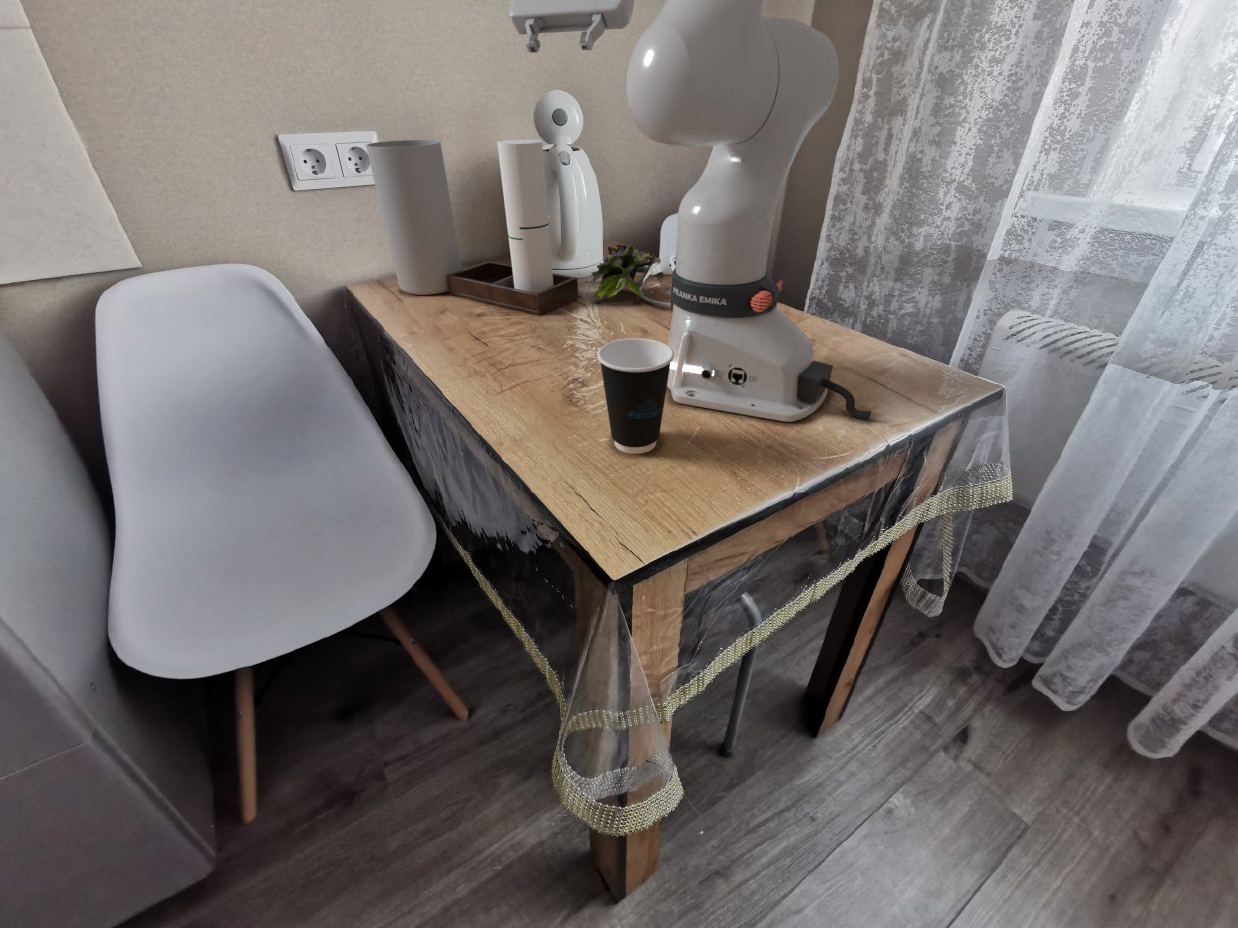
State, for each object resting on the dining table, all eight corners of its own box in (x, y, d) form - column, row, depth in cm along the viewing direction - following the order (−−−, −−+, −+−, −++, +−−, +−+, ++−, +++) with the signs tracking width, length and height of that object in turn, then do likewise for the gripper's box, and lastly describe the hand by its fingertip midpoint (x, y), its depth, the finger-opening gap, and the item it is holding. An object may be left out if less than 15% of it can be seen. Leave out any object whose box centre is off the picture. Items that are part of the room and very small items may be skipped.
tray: (578, 296, 106) (577, 277, 104) (539, 315, 98) (537, 295, 96) (491, 278, 116) (489, 261, 114) (449, 294, 108) (446, 275, 106)
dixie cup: (646, 470, 59) (648, 376, 53) (586, 448, 63) (581, 357, 57) (682, 436, 65) (688, 347, 58) (625, 418, 68) (624, 332, 62)
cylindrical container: (551, 302, 101) (538, 143, 87) (512, 302, 101) (493, 144, 87) (556, 289, 107) (544, 139, 92) (519, 290, 107) (501, 139, 93)
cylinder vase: (390, 285, 113) (355, 143, 99) (447, 273, 119) (422, 138, 105) (415, 300, 105) (381, 149, 91) (475, 286, 111) (452, 143, 97)
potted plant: (618, 318, 111) (640, 260, 110) (652, 324, 103) (676, 261, 102) (573, 294, 104) (596, 232, 103) (606, 298, 96) (631, 231, 95)
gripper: (516, -41, 90) (491, 32, 88) (634, -54, 83) (611, 25, 81) (532, -2, 95) (510, 67, 94) (645, -11, 89) (623, 63, 87)
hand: (557, 48), depth 87 cm, fingers open, 8 cm apart
